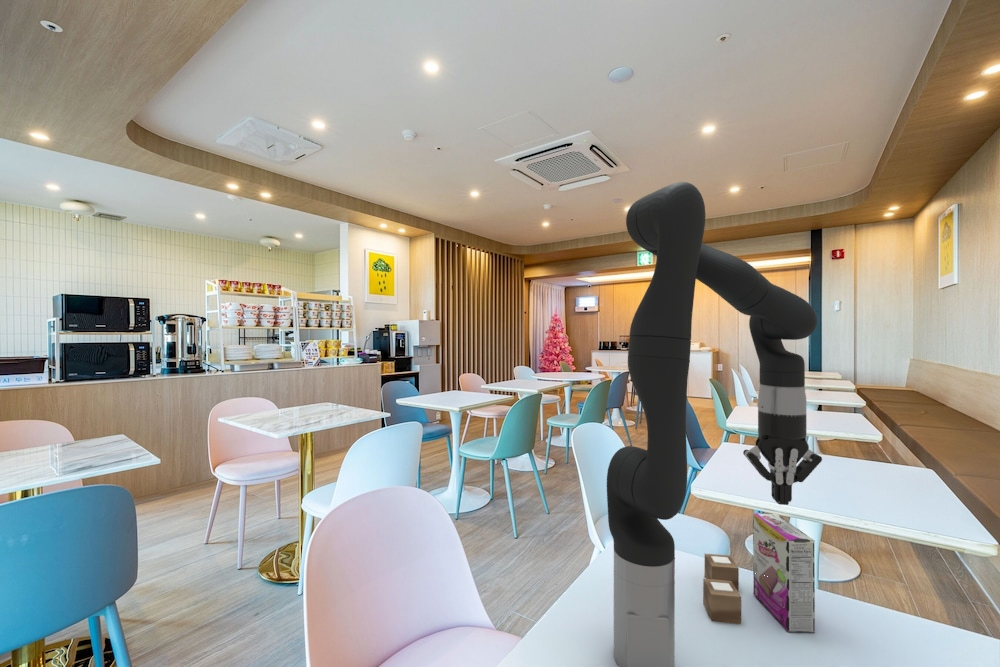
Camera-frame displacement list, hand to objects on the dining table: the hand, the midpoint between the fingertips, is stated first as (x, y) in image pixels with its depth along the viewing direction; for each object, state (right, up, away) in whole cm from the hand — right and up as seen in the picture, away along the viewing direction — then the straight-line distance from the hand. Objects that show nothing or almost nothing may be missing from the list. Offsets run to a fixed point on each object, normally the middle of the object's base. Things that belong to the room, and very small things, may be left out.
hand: (781, 503), depth 81 cm
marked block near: (-11, -21, 0) cm, 23 cm away
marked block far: (-7, -21, +9) cm, 23 cm away
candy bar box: (0, -21, 0) cm, 21 cm away
